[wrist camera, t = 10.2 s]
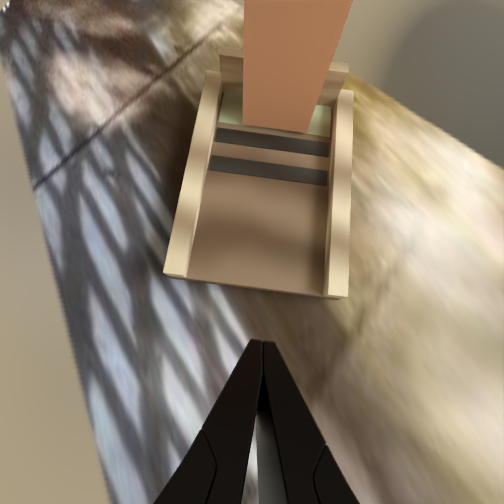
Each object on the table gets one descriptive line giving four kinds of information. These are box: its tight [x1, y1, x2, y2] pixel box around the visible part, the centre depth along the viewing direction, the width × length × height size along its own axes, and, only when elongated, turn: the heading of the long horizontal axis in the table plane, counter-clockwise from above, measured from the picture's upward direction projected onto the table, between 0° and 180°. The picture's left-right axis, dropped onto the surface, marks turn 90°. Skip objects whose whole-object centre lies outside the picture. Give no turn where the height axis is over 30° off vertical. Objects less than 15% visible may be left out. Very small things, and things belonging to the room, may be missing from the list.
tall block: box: [242, 0, 353, 133], centre depth 19 cm, size 3×6×12 cm, turn 83°
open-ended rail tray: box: [163, 46, 354, 300], centre depth 23 cm, size 20×14×5 cm
